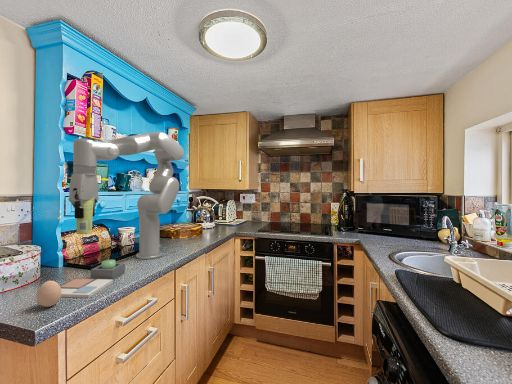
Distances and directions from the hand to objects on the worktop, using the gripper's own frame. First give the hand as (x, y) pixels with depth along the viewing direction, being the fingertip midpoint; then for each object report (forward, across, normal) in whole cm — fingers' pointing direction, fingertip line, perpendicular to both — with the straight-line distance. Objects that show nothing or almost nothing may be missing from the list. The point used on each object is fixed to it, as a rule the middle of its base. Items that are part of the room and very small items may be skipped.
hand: (84, 216), depth 98 cm
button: (+22, -1, +9) cm, 23 cm away
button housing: (+24, -1, +9) cm, 25 cm away
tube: (+7, 0, 0) cm, 7 cm away
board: (+24, +11, +7) cm, 27 cm away
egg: (+24, +23, +7) cm, 34 cm away
